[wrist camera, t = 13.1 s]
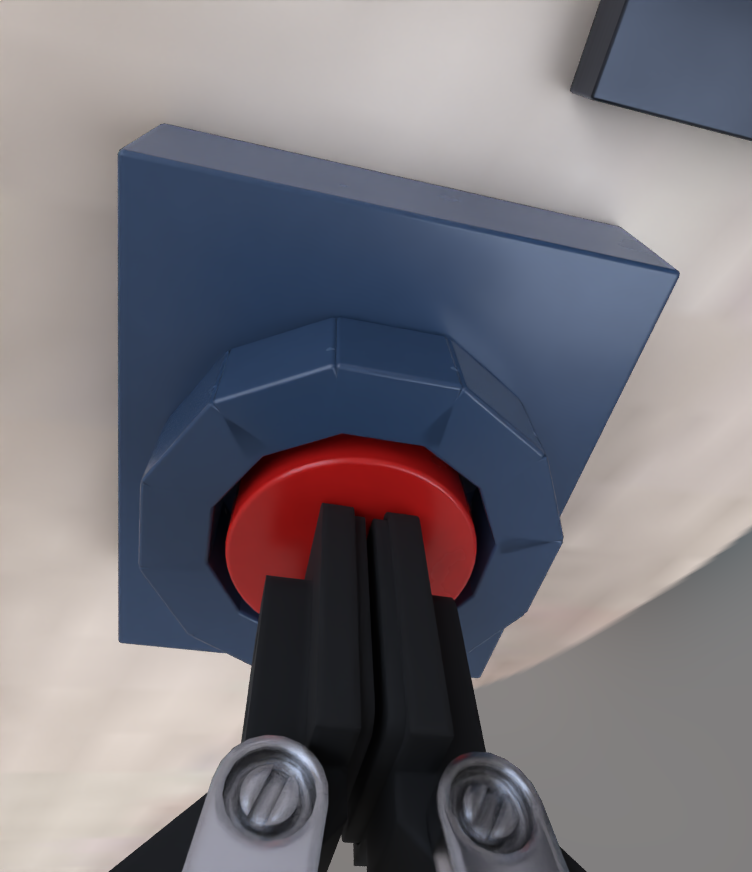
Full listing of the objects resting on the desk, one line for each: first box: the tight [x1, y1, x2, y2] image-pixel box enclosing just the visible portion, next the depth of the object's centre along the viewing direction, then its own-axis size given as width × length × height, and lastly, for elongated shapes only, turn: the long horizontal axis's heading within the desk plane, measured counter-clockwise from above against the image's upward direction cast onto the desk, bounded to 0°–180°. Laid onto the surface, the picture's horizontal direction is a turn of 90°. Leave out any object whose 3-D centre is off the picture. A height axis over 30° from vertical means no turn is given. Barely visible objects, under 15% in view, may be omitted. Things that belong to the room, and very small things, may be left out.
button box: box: [118, 123, 680, 678], centre depth 13 cm, size 11×9×4 cm
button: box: [225, 434, 477, 614], centre depth 12 cm, size 4×4×2 cm
